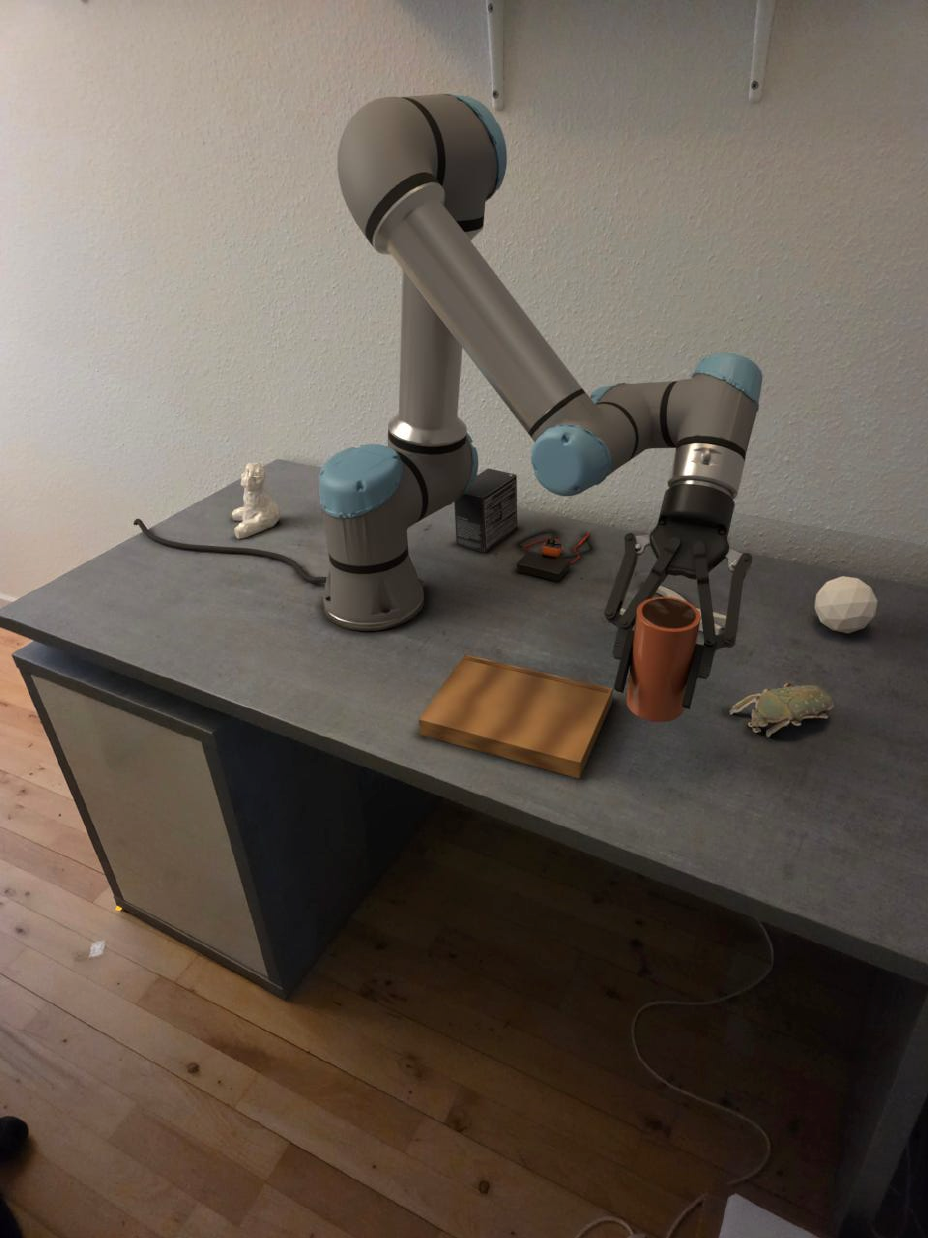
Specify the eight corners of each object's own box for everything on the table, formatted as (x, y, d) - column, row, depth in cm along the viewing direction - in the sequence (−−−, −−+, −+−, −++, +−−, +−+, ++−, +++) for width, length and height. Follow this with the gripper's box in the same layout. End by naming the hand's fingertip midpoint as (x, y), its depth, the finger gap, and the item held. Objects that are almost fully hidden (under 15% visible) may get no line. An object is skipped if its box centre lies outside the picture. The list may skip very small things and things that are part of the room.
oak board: (419, 734, 96) (418, 718, 94) (465, 669, 106) (465, 653, 105) (579, 779, 89) (580, 762, 87) (611, 704, 99) (612, 687, 98)
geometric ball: (821, 635, 115) (816, 580, 115) (883, 631, 110) (877, 574, 111) (812, 635, 108) (806, 578, 109) (877, 631, 104) (871, 570, 104)
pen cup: (619, 713, 86) (630, 622, 80) (633, 679, 91) (644, 591, 84) (678, 728, 84) (694, 636, 77) (689, 692, 89) (705, 602, 82)
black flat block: (546, 521, 141) (546, 504, 139) (607, 537, 136) (608, 520, 134) (491, 564, 129) (491, 546, 127) (556, 584, 123) (557, 565, 122)
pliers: (646, 575, 122) (740, 607, 114) (645, 584, 123) (738, 616, 114) (613, 603, 115) (710, 639, 107) (613, 612, 116) (708, 648, 108)
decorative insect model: (738, 678, 101) (751, 652, 97) (824, 710, 98) (840, 685, 95) (724, 728, 95) (737, 702, 92) (814, 763, 93) (832, 739, 89)
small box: (488, 520, 142) (487, 466, 137) (519, 529, 139) (519, 474, 133) (453, 544, 135) (451, 488, 130) (485, 554, 132) (484, 496, 126)
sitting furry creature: (232, 517, 147) (219, 456, 140) (279, 510, 149) (268, 449, 142) (236, 540, 139) (222, 477, 133) (285, 532, 141) (274, 469, 135)
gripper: (609, 468, 86) (556, 672, 83) (798, 495, 79) (748, 718, 76) (617, 493, 93) (569, 682, 90) (791, 520, 86) (746, 725, 83)
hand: (651, 698), depth 83 cm, fingers closed on pen cup, 6 cm apart
